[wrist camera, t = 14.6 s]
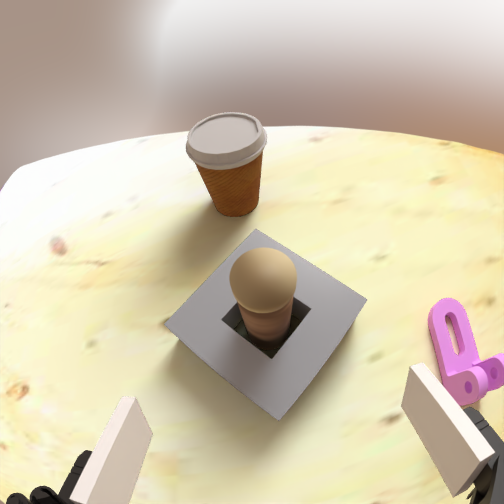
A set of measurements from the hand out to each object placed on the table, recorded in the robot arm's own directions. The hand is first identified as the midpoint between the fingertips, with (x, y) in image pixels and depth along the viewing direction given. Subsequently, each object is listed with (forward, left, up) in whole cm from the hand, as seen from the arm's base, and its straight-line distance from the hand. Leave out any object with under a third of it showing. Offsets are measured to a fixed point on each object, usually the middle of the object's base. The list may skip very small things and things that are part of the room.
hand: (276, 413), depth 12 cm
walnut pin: (-7, -6, -17) cm, 19 cm away
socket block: (-7, -6, -17) cm, 19 cm away
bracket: (-17, +14, -17) cm, 28 cm away
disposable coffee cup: (-19, -21, -17) cm, 33 cm away
